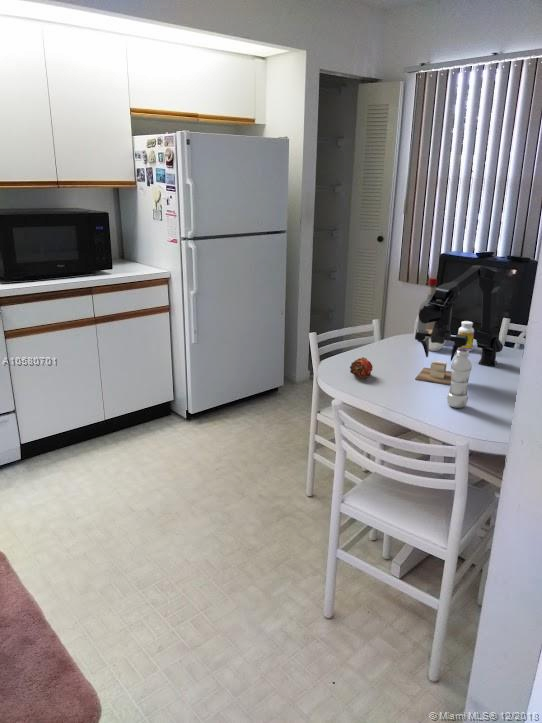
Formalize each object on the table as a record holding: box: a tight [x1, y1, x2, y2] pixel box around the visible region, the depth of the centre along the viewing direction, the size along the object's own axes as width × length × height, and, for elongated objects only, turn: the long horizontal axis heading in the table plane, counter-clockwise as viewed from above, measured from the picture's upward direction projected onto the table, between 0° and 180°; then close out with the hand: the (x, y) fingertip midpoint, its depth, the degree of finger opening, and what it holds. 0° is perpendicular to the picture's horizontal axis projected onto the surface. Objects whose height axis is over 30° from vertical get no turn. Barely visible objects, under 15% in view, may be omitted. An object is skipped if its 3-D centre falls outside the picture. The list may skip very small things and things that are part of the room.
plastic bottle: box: [446, 349, 473, 409], centre depth 178 cm, size 6×7×20 cm
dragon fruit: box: [349, 356, 374, 379], centre depth 208 cm, size 8×8×12 cm
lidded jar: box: [427, 330, 446, 352], centre depth 241 cm, size 11×11×9 cm
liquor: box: [416, 277, 438, 333], centre depth 250 cm, size 9×9×30 cm
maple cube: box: [430, 360, 448, 379], centre depth 207 cm, size 5×5×5 cm
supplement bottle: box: [457, 320, 475, 352], centre depth 238 cm, size 7×7×13 cm
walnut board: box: [415, 367, 451, 386], centre depth 208 cm, size 14×14×1 cm
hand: (439, 358), depth 205 cm, fingers open, 9 cm apart
